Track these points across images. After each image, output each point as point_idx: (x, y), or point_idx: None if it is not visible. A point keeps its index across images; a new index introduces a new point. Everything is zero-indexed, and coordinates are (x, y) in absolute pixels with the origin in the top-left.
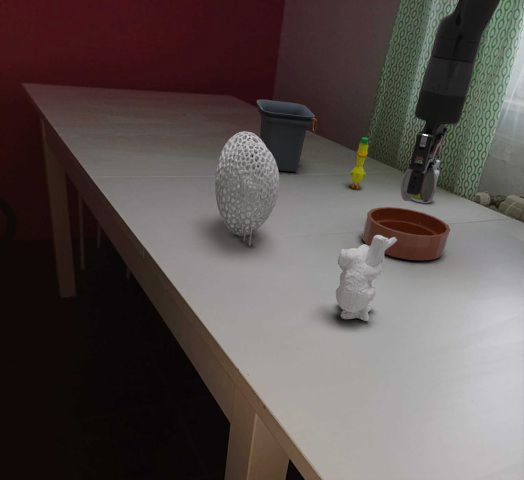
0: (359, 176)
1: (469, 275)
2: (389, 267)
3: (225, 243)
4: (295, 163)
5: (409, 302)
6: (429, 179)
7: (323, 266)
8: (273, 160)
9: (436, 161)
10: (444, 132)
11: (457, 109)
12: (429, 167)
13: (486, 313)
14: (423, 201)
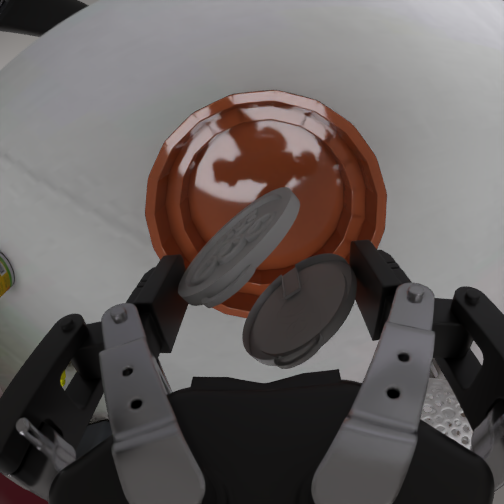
0: None
1: (316, 25)
2: (407, 181)
3: (433, 374)
4: (107, 431)
5: (495, 124)
6: (228, 260)
7: (456, 272)
8: (469, 446)
9: (113, 313)
10: (10, 438)
11: None
12: (159, 312)
13: (449, 9)
14: (6, 261)
